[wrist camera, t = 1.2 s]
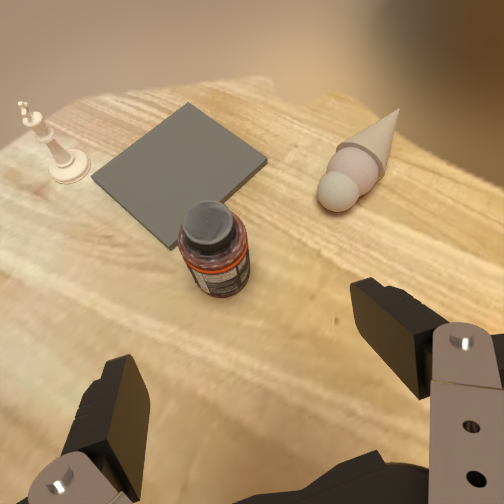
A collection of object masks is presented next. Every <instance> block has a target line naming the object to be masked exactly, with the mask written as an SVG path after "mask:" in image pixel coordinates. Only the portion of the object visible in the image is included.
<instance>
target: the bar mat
mask: <svg viewBox="0 0 504 504" xmlns="http://www.w3.org/2000/svg"><path fill="white" fill-rule="evenodd" d="M266 164H267V157H266V156H264V155H263V154H261V153H260V152H258V151H257V150H256V149H254V148H253V147H251V146H250V145H248V144H247V143H246V142H244V141H243V140H241V139H240V138H239V137H237V136H236V135H234V134H233V133H231V132H230V131H229V130H227V129H226V128H224V127H223V126H222V125H220V124H219V123H217V122H216V121H214V120H213V119H212V118H210V117H209V116H207V115H206V114H204V113H203V112H202V111H200V110H199V109H197V108H196V107H195V106H193V105H192V104H190V103H189V102H188V103H186V104H185V105H184V106H182V107H181V108H180V109H178V110H177V111H176V112H174V113H173V114H172V115H171V116H169V117H168V118H167V119H165V120H164V121H163V122H161V123H160V124H159V125H157V126H156V127H155V128H153V129H152V130H151V131H149V132H148V133H147V134H145V135H144V136H143V137H141V138H140V139H139V140H137V141H136V142H135V143H134V144H132V145H131V146H130V147H128V148H127V149H126V150H124V151H123V152H122V153H120V154H119V155H118V156H116V157H115V158H114V159H112V160H111V161H110V162H108V163H107V164H106V165H104V166H103V167H102V168H101V169H99V170H98V171H97V172H95V173H94V174H93V175H91V178H92V179H93V180H94V182H96V183H97V184H98V185H99V186H100V187H101V188H102V189H103V190H104V191H105V192H107V193H108V194H109V195H110V196H111V197H112V198H113V199H114V200H115V201H117V202H118V203H119V204H120V205H121V206H122V207H123V208H124V209H125V210H126V211H128V212H129V213H130V214H131V215H132V216H133V217H134V218H135V219H136V220H137V221H139V222H140V223H141V224H142V225H143V226H144V227H145V228H146V229H147V230H148V231H150V232H151V233H152V234H153V235H154V236H155V237H156V238H157V239H158V240H159V241H161V242H162V243H163V244H164V245H165V246H166V247H167V248H168V249H169V250H170V251H171V250H172V249H173V248H175V247H176V246H177V245H178V234H179V230H180V227H181V225H182V220H183V217H184V214H185V213H186V211H187V210H188V209H189V208H190V207H191V206H192V205H193V204H195V203H197V202H200V201H203V200H215V201H219V202H221V203H224V202H225V201H226V200H227V199H228V198H230V197H231V196H232V195H233V194H234V193H235V192H236V191H237V190H238V189H239V188H240V187H242V186H243V185H244V184H245V183H246V182H247V181H248V180H249V179H250V178H251V177H253V176H254V175H255V174H256V173H257V172H258V171H259V170H260V169H261V168H262V167H264V166H265V165H266Z"/></svg>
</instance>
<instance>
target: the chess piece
mask: <svg viewBox="0 0 504 504" xmlns="http://www.w3.org/2000/svg"><path fill="white" fill-rule="evenodd" d="M18 106H19V107H20V109H21V110H22V116H23V124H24V125H25V126H26V127H28V128H29V129H31V130H33V131H34V132H36V134H35V138H36V140H37V142H39V143H46V145H47V146H48V148H49V149H50V151H51V153H52V154H53V156H54V157H53V158H52V159H51V161H50V163H49V166H48V170H49V173H50V175H51V176H52V178H53V179H54V180H55V181H56V182H58V183H62V184H70V183H74V182H77V181H79V180H80V179H82V178H83V177H84V176H85V175H86V174H87V173H88V171H89V169H90V160H89V158H88V156H87V155H86V154H85V153H83V152H82V151H80V150H77V149H67V150H65V149H64V148H62V147H61V146H60V145H59V144H58V143H57V141H56V140H55V139H54V137H55V135H56V133H55V131H54V130H53V129H51V128H49V127H46V125H45V123H44V119H43V116H42V114H41V113H39V112H30V110H29V107H30V106H29V104H28V103H27V102H18Z"/></svg>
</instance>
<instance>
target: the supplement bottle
mask: <svg viewBox="0 0 504 504" xmlns="http://www.w3.org/2000/svg"><path fill="white" fill-rule="evenodd" d="M178 247H179V250H180V252H181V255H182V256H183V259H184V261H185V263H186V264H187V266H188V268H189V270H190V272H191V274H192V275H193V278H194V279H195V283H197V285H198V286H199V287H200V288H201V289H202V290H203V291H204V292H205V293H207V294H209V295H211V296H214V297H228V296H231V295H233V294H235V293H237V292H239V291H240V290H241V289H242V288H243V287H244V286H245V284H246V282H247V280H248V278H249V273H250V261H249V249H248V239H247V232H246V229H245V226H244V224H243V222H242V221H241V219H240V218H239V217H238V216H237V215H236V214H234V213H233V212H231V211H230V210H229V208H228V207H227V206H226V205H224V204H223V203H221V202H219V201H215V200H203V201H200V202H197V203H195V204H193V205H192V206H191V207H190V208H189V209H188V210H187V211H186V213H185V214H184V217H183V220H182V225H181V227H180V230H179V234H178Z"/></svg>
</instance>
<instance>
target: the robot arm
mask: <svg viewBox="0 0 504 504" xmlns="http://www.w3.org/2000/svg"><path fill="white" fill-rule="evenodd" d="M350 293H351V300H352V306H353V313H354V319H355V323H356V326H357V329H358V331H359V333H360V334H361V336H362V337H363V338H364V339H365V340H366V342H367V343H368V344H369V345H370V346H371V347H372V348H373V349H374V350H375V352H376V353H377V354H378V355H379V356H380V357H381V358H382V359H383V360H384V362H385V363H386V364H387V365H388V366H389V367H390V368H391V369H392V371H393V372H394V373H395V374H396V375H397V376H398V377H399V378H400V379H401V381H402V382H403V383H404V384H405V385H406V386H407V387H408V388H409V389H410V391H411V392H412V393H413V394H414V395H415V396H416V397H417V398H418V400H421V399H424V398H427V397H429V396H430V446H429V469H428V468H425V467H422V466H418V465H414V464H407V463H394V462H390V463H385V462H384V460H383V459H382V457H381V456H380V454H379V452H378V451H377V450H374V451H372V452H369V453H366V454H364V455H361V456H358V457H356V458H353V459H350V460H348V461H345V462H342V463H340V464H338V465H336V466H335V467H333V468H332V469H331V470H329V471H328V472H326V473H325V474H324V475H322V476H321V477H320V478H318V479H317V480H315V481H314V482H313V483H311V484H310V485H308V486H307V487H306V488H304V489H302V490H298V491H289V492H279V493H269V494H259V495H254V496H252V497H249V498H246V499H244V500H241V501H238V502H236V503H233V504H504V334H496V335H490V334H489V333H488V332H487V331H485V330H484V329H482V328H480V327H478V326H476V325H473V324H469V323H461V322H453V323H450V322H448V321H447V320H446V319H444V318H443V317H441V316H440V315H438V314H437V313H436V312H434V311H433V310H431V309H430V308H428V307H427V306H426V305H424V304H422V303H421V302H420V301H418V300H417V299H416V298H413V296H411V295H410V294H408V293H407V292H406V291H404V290H402V289H399V288H396V287H392V286H386V287H384V286H382V285H381V284H380V283H378V282H377V281H376V280H374V279H373V278H371V277H370V278H366V279H363V280H360V281H357V282H354V283H351V284H350ZM149 414H150V398H149V394H148V390H147V388H146V385H145V383H144V381H143V379H142V377H141V374H140V372H139V370H138V368H137V365H136V363H135V361H134V359H133V357H132V356H131V355H130V354H128V355H124V356H121V357H118V358H115V359H112V360H109V361H107V362H106V364H105V367H104V370H103V373H102V376H101V379H98V380H95V381H93V383H92V384H91V385H90V386H89V388H88V389H87V390H86V391H85V393H84V394H83V397H82V399H81V402H80V405H79V409H78V410H77V413H76V416H75V420H74V421H73V424H72V426H71V429H70V432H69V434H68V437H67V440H66V442H65V445H64V448H63V451H62V453H61V456H60V457H59V458H57V459H55V460H54V461H53V462H51V463H50V464H49V465H47V466H46V467H45V468H44V469H43V470H42V471H41V472H40V473H39V475H38V476H37V477H36V478H35V480H34V481H33V483H32V485H31V487H30V489H29V493H28V497H26V498H25V499H23V500H21V501H20V502H18V503H16V504H133V503H135V502H137V501H140V496H141V487H142V478H143V469H144V460H145V451H146V441H147V432H148V423H149Z"/></svg>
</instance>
